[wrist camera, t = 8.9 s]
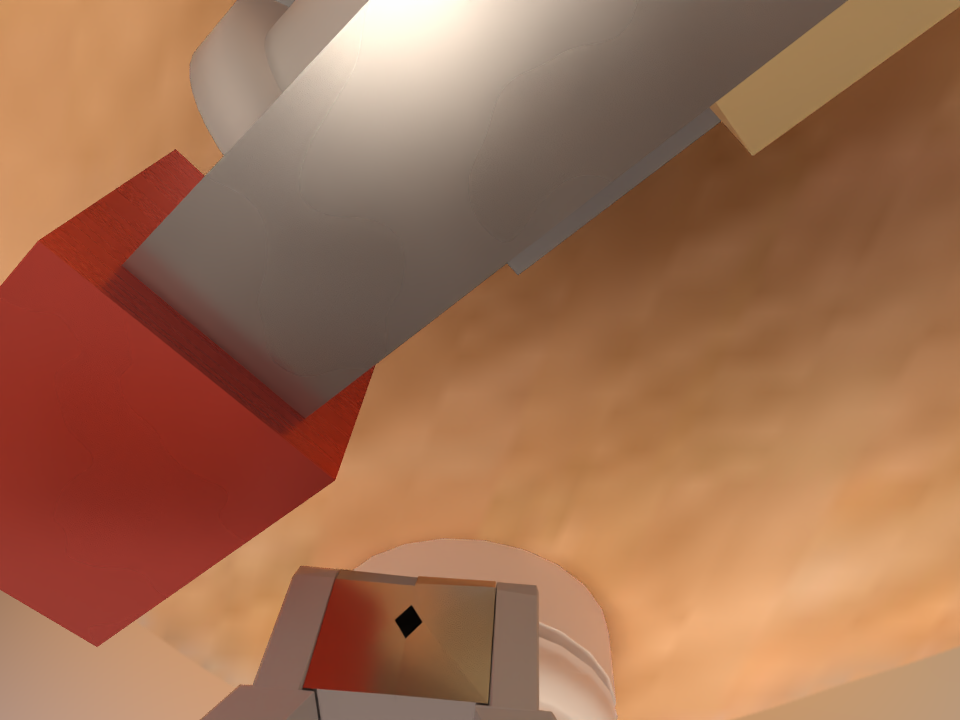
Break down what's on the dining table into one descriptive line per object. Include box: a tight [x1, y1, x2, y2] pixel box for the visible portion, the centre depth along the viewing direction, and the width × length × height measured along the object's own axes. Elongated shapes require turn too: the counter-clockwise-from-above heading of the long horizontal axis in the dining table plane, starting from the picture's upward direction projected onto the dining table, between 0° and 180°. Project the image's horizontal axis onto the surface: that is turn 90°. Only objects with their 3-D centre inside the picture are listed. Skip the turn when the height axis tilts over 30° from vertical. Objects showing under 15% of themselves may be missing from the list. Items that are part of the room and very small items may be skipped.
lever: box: [0, 0, 848, 647], centre depth 6 cm, size 14×4×2 cm, turn 132°
